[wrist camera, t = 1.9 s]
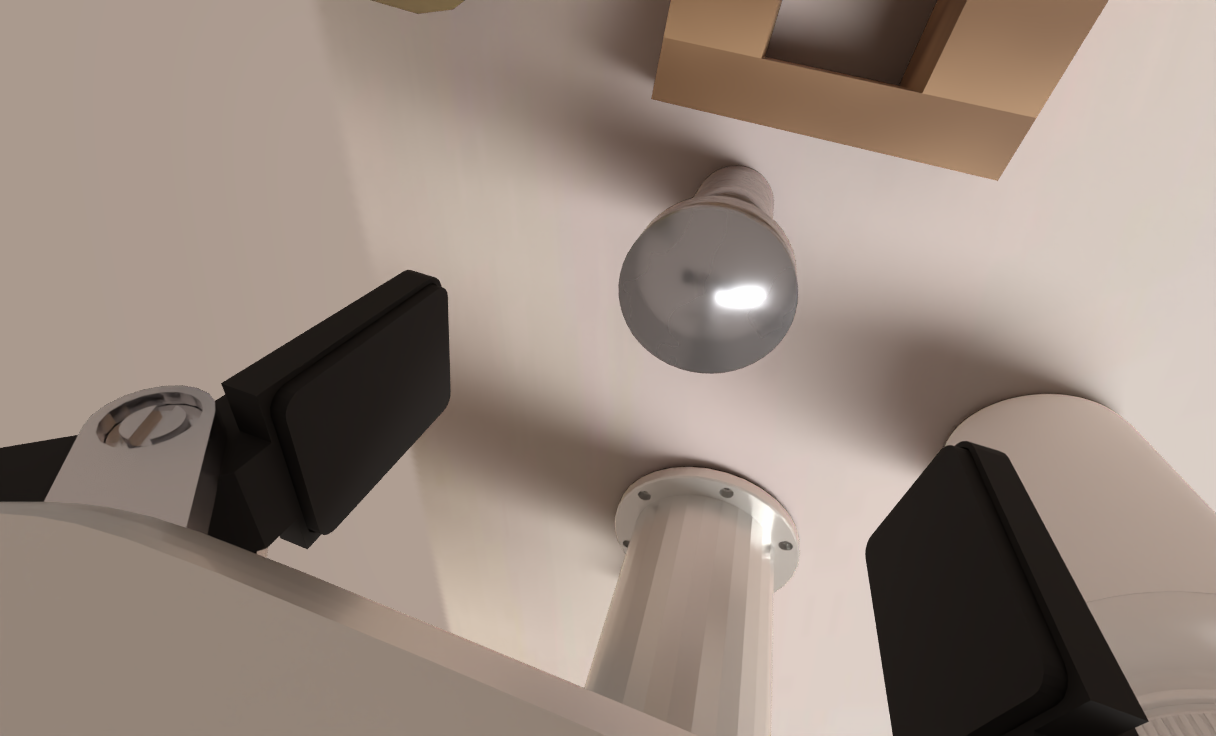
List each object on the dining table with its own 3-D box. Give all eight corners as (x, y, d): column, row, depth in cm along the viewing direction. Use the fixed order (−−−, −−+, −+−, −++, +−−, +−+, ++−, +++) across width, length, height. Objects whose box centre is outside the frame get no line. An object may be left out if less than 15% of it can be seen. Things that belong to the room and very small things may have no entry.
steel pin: (768, 272, 24) (759, 393, 16) (666, 244, 25) (605, 345, 16) (811, 162, 21) (830, 238, 13) (694, 133, 22) (637, 187, 13)
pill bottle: (1178, 457, 23) (1606, 903, 11) (1006, 529, 28) (1175, 897, 16) (1059, 356, 22) (1381, 718, 10) (902, 447, 27) (997, 769, 15)
